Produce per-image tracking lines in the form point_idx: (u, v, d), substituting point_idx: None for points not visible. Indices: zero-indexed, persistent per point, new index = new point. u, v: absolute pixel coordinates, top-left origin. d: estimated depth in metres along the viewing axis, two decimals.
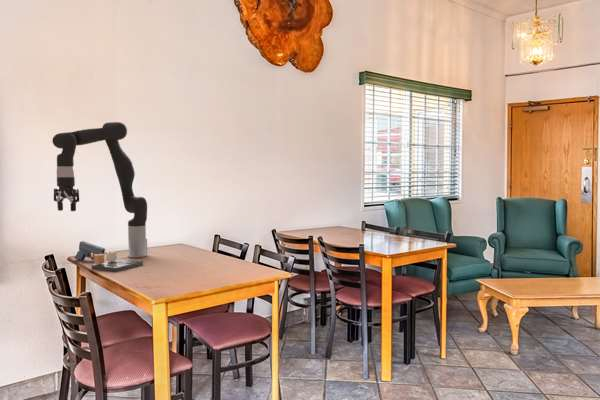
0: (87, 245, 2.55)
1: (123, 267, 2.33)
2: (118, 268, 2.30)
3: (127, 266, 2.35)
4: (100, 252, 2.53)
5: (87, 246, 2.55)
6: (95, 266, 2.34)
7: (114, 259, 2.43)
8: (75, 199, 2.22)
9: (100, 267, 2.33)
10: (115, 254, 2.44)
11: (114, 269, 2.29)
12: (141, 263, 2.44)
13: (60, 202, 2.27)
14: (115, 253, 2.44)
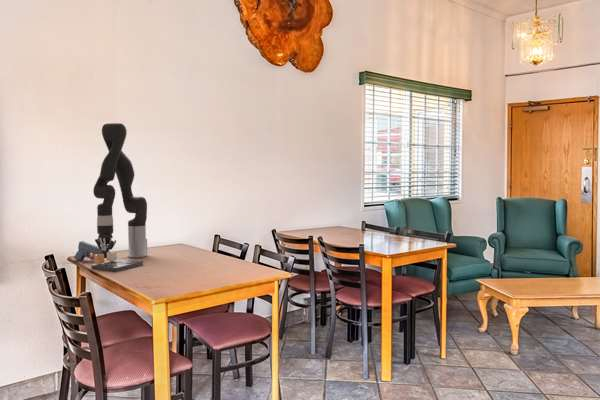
0: (86, 245, 2.55)
1: (123, 267, 2.33)
2: (118, 268, 2.30)
3: (127, 266, 2.35)
4: (99, 252, 2.53)
5: (86, 246, 2.55)
6: (95, 266, 2.34)
7: (115, 259, 2.43)
8: None
9: (100, 267, 2.33)
10: (115, 254, 2.44)
11: (114, 269, 2.29)
12: (141, 263, 2.44)
13: None
14: (115, 253, 2.44)
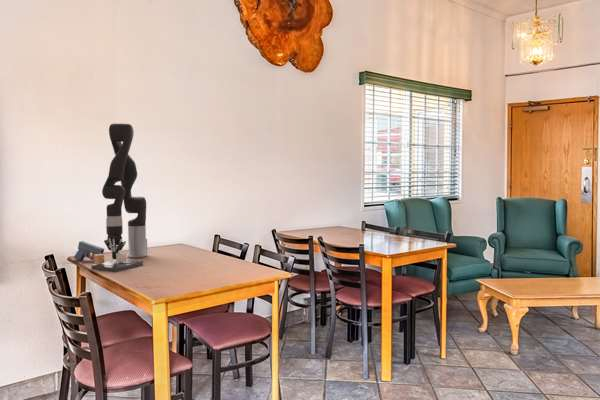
0: (86, 245, 2.55)
1: (123, 267, 2.33)
2: (118, 268, 2.30)
3: (127, 266, 2.35)
4: (99, 252, 2.53)
5: (86, 246, 2.55)
6: (95, 266, 2.34)
7: (124, 260, 2.41)
8: None
9: (100, 267, 2.33)
10: (125, 255, 2.41)
11: (114, 269, 2.29)
12: (141, 263, 2.44)
13: None
14: (125, 254, 2.41)
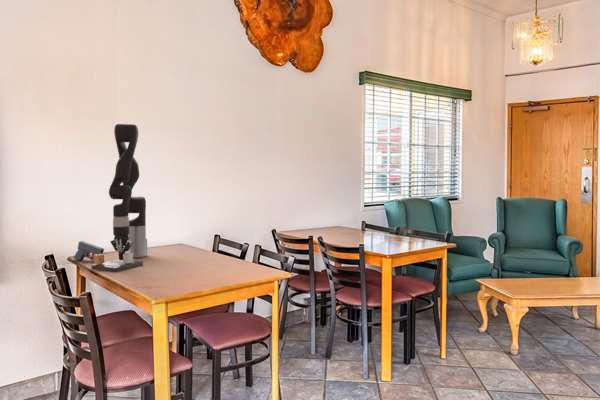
0: (86, 245, 2.55)
1: (123, 267, 2.33)
2: (118, 268, 2.30)
3: (127, 266, 2.35)
4: (99, 252, 2.53)
5: (86, 246, 2.55)
6: (95, 266, 2.34)
7: (131, 261, 2.39)
8: None
9: (100, 267, 2.33)
10: (131, 256, 2.39)
11: (114, 269, 2.29)
12: (141, 263, 2.44)
13: None
14: (131, 255, 2.39)
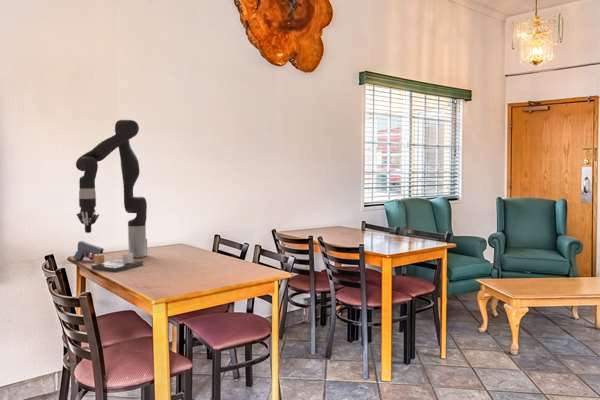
0: (86, 245, 2.55)
1: (123, 267, 2.33)
2: (118, 268, 2.30)
3: (127, 266, 2.35)
4: (98, 252, 2.53)
5: (86, 246, 2.55)
6: (95, 266, 2.34)
7: (131, 261, 2.39)
8: None
9: (100, 267, 2.33)
10: (131, 256, 2.39)
11: (114, 269, 2.29)
12: (141, 263, 2.44)
13: None
14: (131, 255, 2.39)
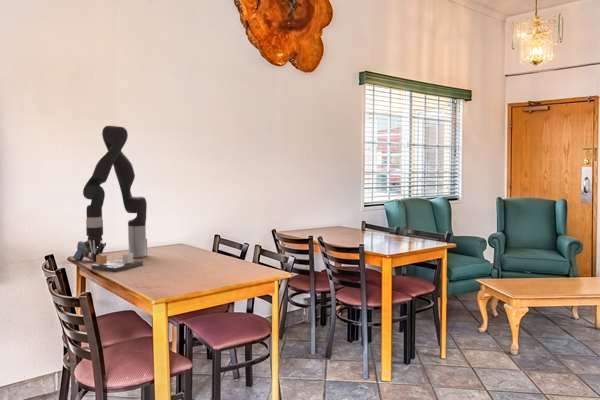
0: None
1: (123, 267, 2.33)
2: (118, 268, 2.30)
3: (127, 266, 2.35)
4: None
5: (85, 246, 2.55)
6: (95, 266, 2.34)
7: (131, 261, 2.39)
8: None
9: (100, 267, 2.33)
10: (131, 256, 2.39)
11: (114, 269, 2.29)
12: (141, 263, 2.44)
13: None
14: (131, 255, 2.39)
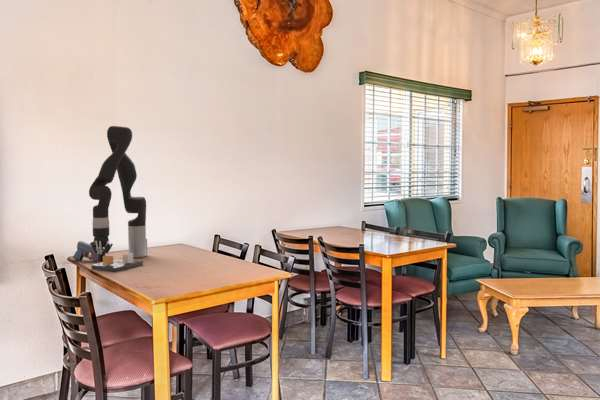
0: (85, 245, 2.55)
1: (123, 267, 2.33)
2: (118, 268, 2.30)
3: (127, 266, 2.35)
4: None
5: (85, 246, 2.55)
6: (95, 266, 2.34)
7: (131, 261, 2.39)
8: None
9: (100, 267, 2.33)
10: (131, 256, 2.39)
11: (114, 269, 2.29)
12: (141, 263, 2.44)
13: None
14: (131, 255, 2.39)
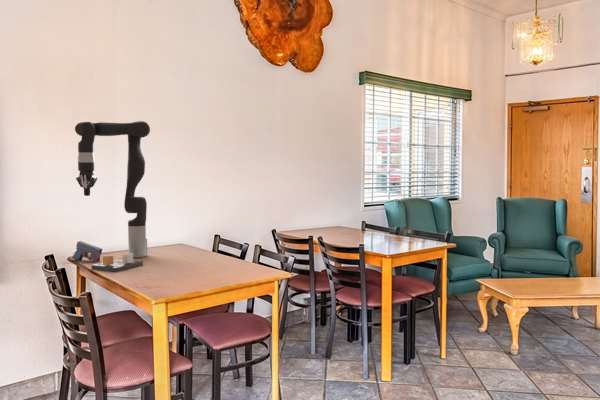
0: (84, 245, 2.55)
1: (123, 267, 2.33)
2: (118, 268, 2.30)
3: (127, 266, 2.35)
4: (97, 252, 2.53)
5: (84, 246, 2.55)
6: (95, 266, 2.34)
7: (131, 261, 2.39)
8: None
9: (100, 267, 2.33)
10: (131, 256, 2.39)
11: (114, 269, 2.29)
12: (141, 263, 2.44)
13: None
14: (131, 255, 2.39)
